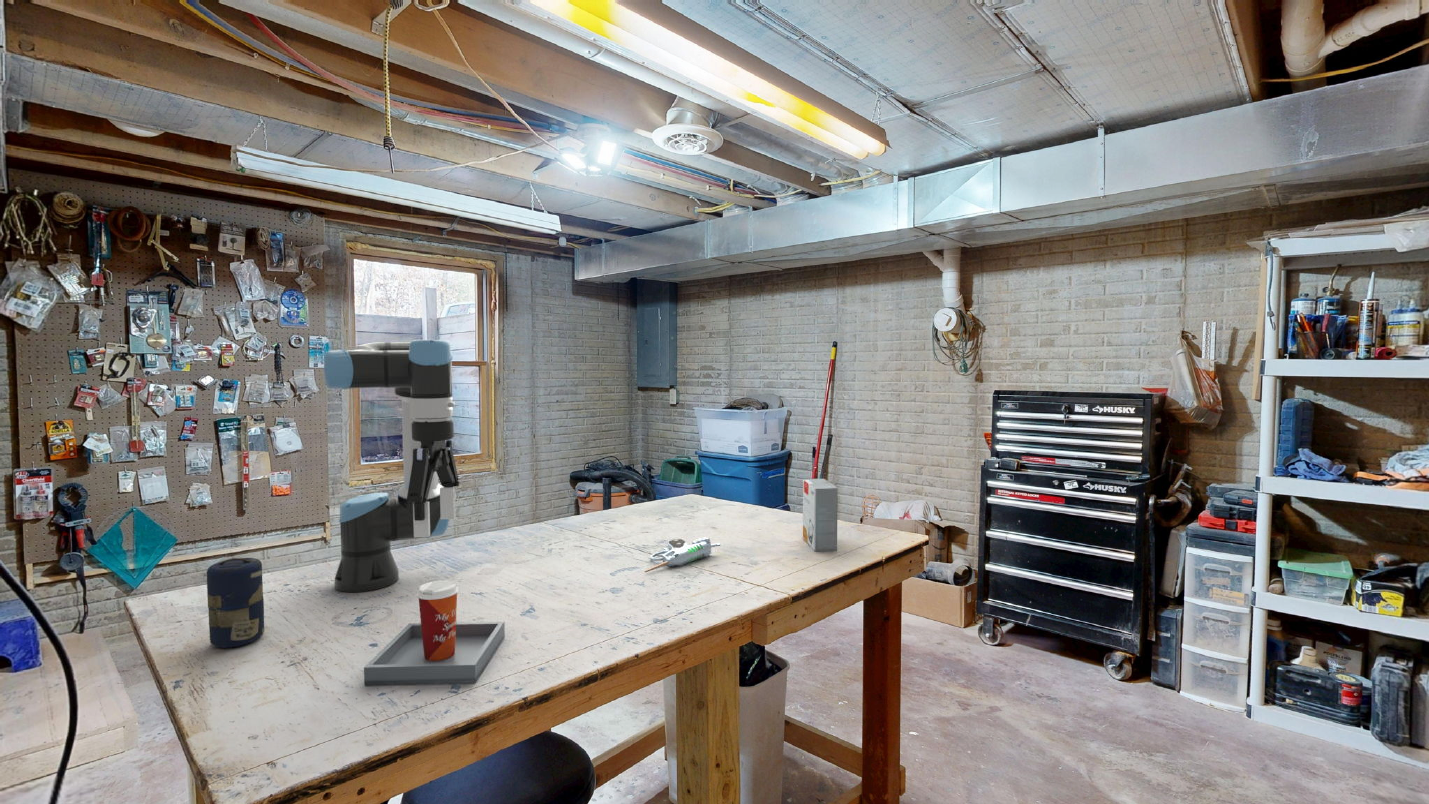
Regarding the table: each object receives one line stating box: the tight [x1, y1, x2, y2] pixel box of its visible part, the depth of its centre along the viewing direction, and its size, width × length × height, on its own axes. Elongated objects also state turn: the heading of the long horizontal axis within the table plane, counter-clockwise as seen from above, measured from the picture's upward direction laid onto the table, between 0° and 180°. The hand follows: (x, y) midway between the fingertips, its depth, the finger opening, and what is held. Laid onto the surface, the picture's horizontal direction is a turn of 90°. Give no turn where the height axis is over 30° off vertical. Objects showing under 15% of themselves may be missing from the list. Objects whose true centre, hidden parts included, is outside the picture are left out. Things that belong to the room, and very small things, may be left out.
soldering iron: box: [644, 537, 722, 573], centre depth 196 cm, size 6×28×16 cm
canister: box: [206, 557, 265, 648], centre depth 139 cm, size 10×10×18 cm
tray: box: [363, 621, 506, 687], centre depth 131 cm, size 20×20×4 cm
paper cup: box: [416, 579, 460, 661], centre depth 131 cm, size 8×8×14 cm
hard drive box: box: [802, 478, 839, 552], centre depth 212 cm, size 16×8×20 cm, turn 6°
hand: (435, 527), depth 130 cm, fingers open, 13 cm apart
